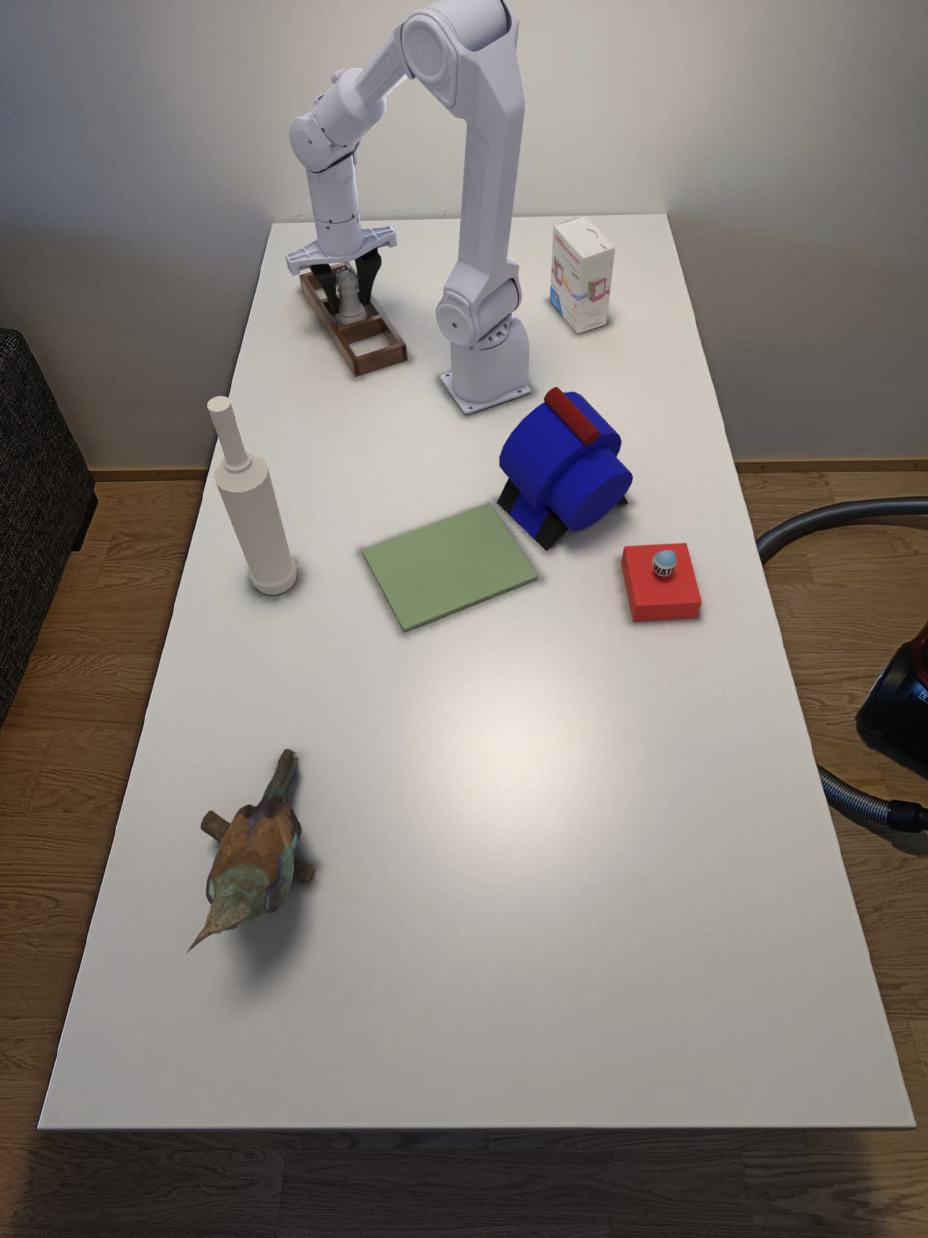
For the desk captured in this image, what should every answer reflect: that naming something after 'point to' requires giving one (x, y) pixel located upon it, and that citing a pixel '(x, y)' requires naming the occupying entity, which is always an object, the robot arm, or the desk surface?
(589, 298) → the ink box
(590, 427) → the electric motor
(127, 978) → the desk surface
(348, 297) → the rook chess piece
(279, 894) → the bird figurine
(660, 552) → the red rectangular block
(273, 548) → the bottle
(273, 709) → the desk surface
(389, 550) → the mat
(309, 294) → the rack
